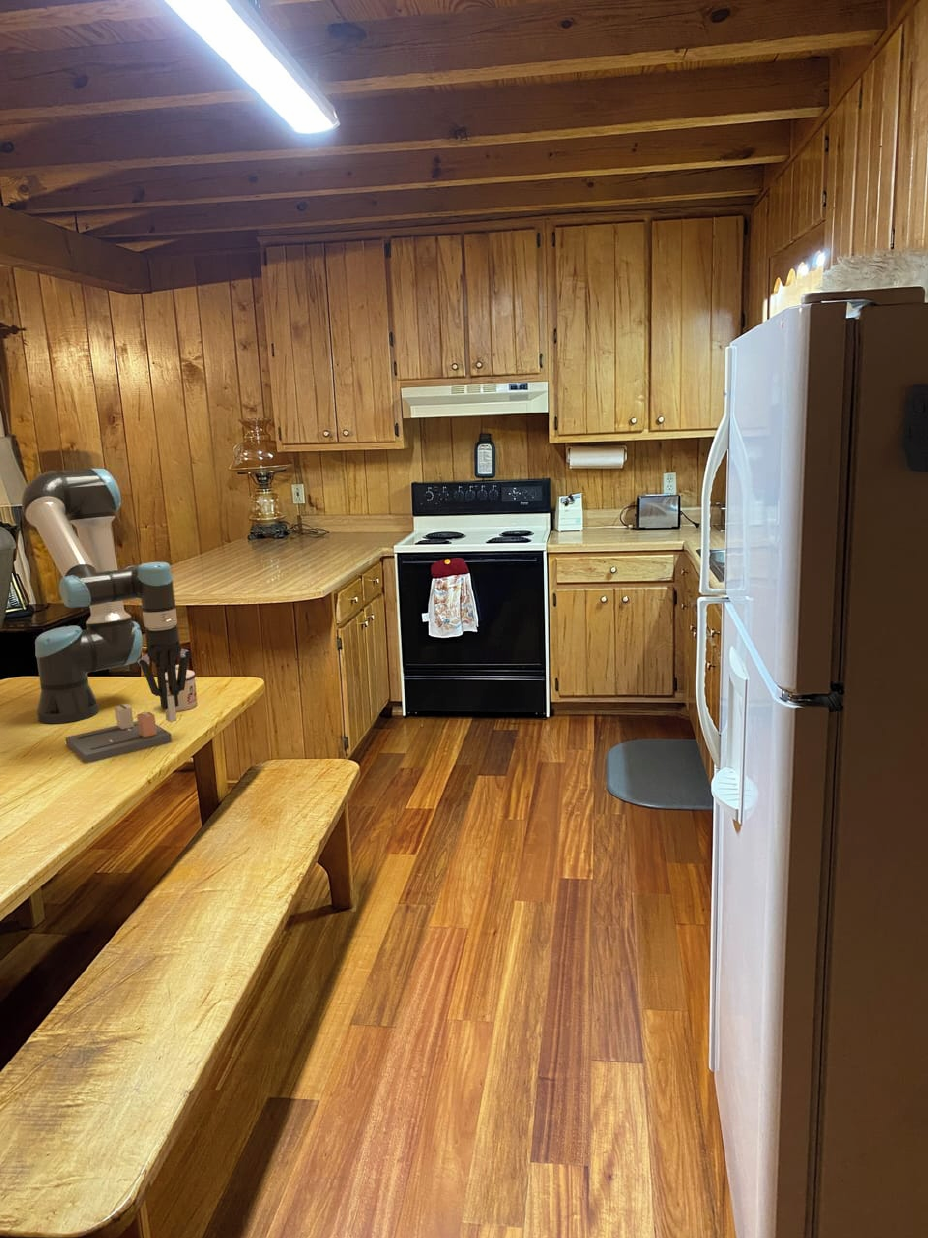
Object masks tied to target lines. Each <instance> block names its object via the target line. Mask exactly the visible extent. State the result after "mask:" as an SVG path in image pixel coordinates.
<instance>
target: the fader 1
mask: <svg viewBox="0 0 928 1238" xmlns="http://www.w3.org/2000/svg"><path fill="white" fill-rule="evenodd" d="M114 713H115V721H116V726H118V727H119V728H120V729H126V728H130V727H134V723H133V722H134V715H133V709H132V706H130V705H128V704H126V703H125V704H119V705H117V706H114Z"/></svg>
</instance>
